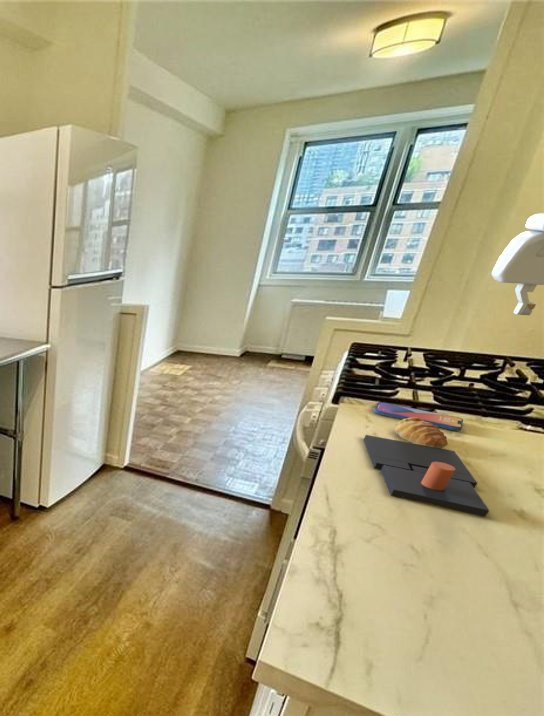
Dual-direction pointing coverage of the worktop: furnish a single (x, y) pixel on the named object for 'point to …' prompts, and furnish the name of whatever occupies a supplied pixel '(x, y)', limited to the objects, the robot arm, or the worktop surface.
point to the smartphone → (419, 415)
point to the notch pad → (413, 456)
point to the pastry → (421, 432)
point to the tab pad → (429, 496)
